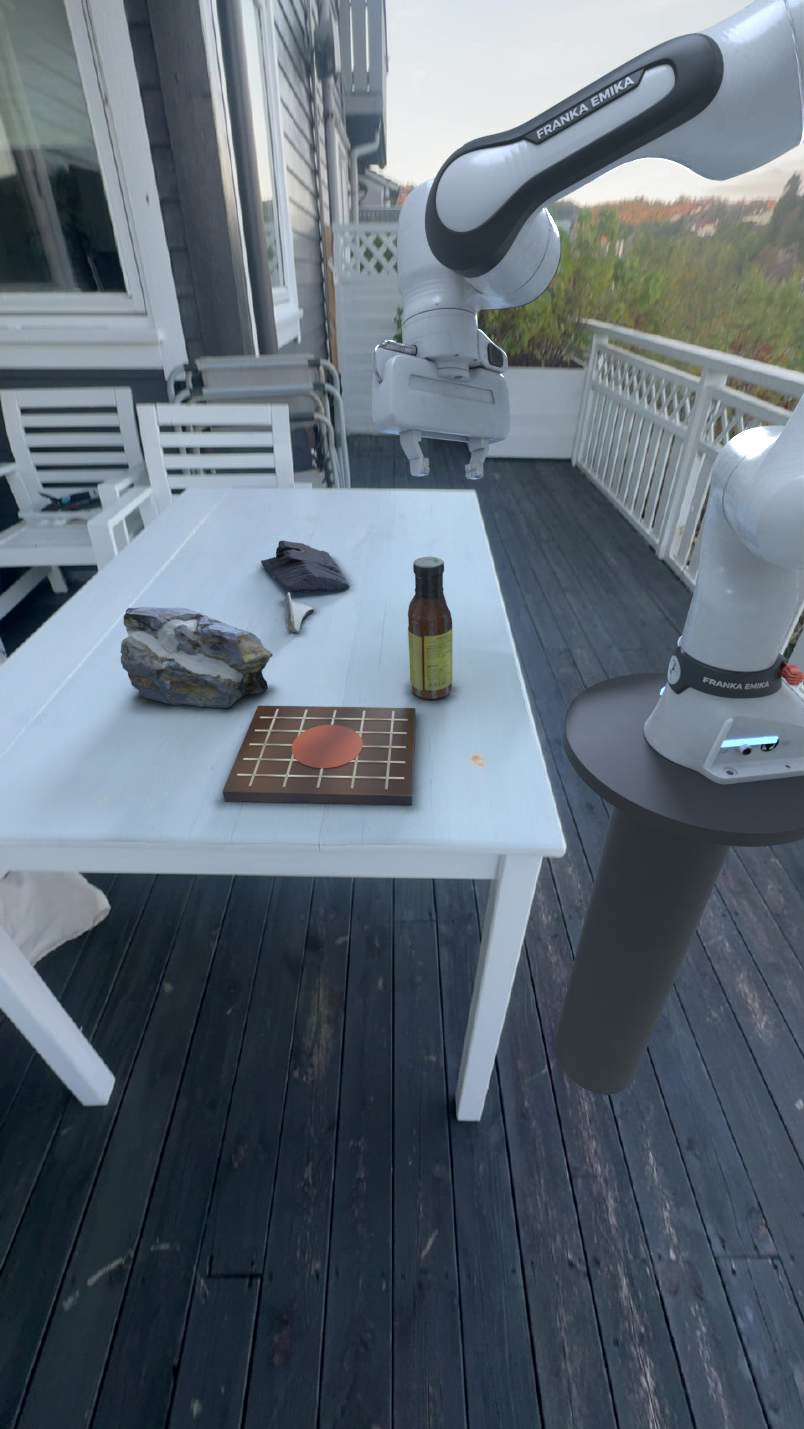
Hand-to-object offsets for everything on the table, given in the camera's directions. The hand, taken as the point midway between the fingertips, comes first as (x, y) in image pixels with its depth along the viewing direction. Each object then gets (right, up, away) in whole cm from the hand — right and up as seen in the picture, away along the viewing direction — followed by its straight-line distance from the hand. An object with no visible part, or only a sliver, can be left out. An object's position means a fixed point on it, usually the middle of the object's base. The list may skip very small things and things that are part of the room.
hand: (448, 477), depth 76 cm
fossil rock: (-35, -27, +16) cm, 46 cm away
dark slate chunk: (-26, -1, +53) cm, 59 cm away
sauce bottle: (-1, -25, +17) cm, 31 cm away
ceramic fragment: (-26, -11, +38) cm, 47 cm away
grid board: (-15, -34, +4) cm, 38 cm away
